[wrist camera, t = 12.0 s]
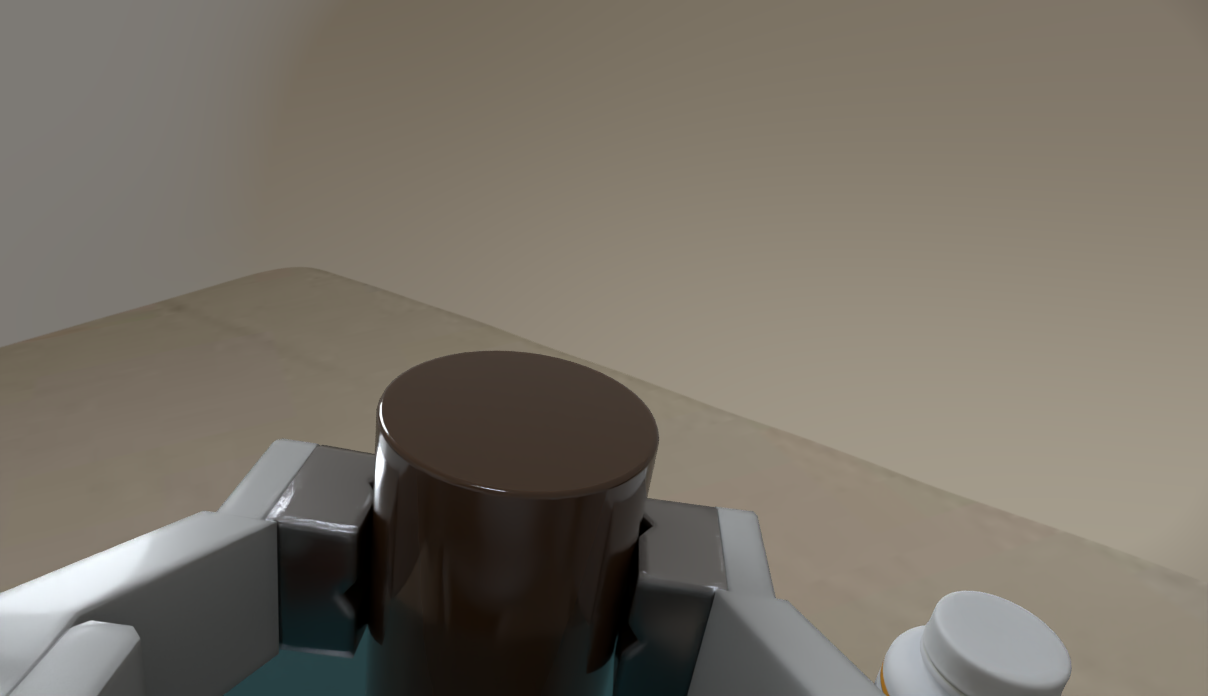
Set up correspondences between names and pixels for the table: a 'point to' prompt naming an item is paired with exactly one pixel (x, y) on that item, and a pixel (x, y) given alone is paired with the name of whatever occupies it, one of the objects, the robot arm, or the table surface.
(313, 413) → the table surface
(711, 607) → the robot arm
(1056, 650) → the supplement bottle
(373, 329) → the table surface
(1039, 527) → the table surface
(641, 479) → the lid
